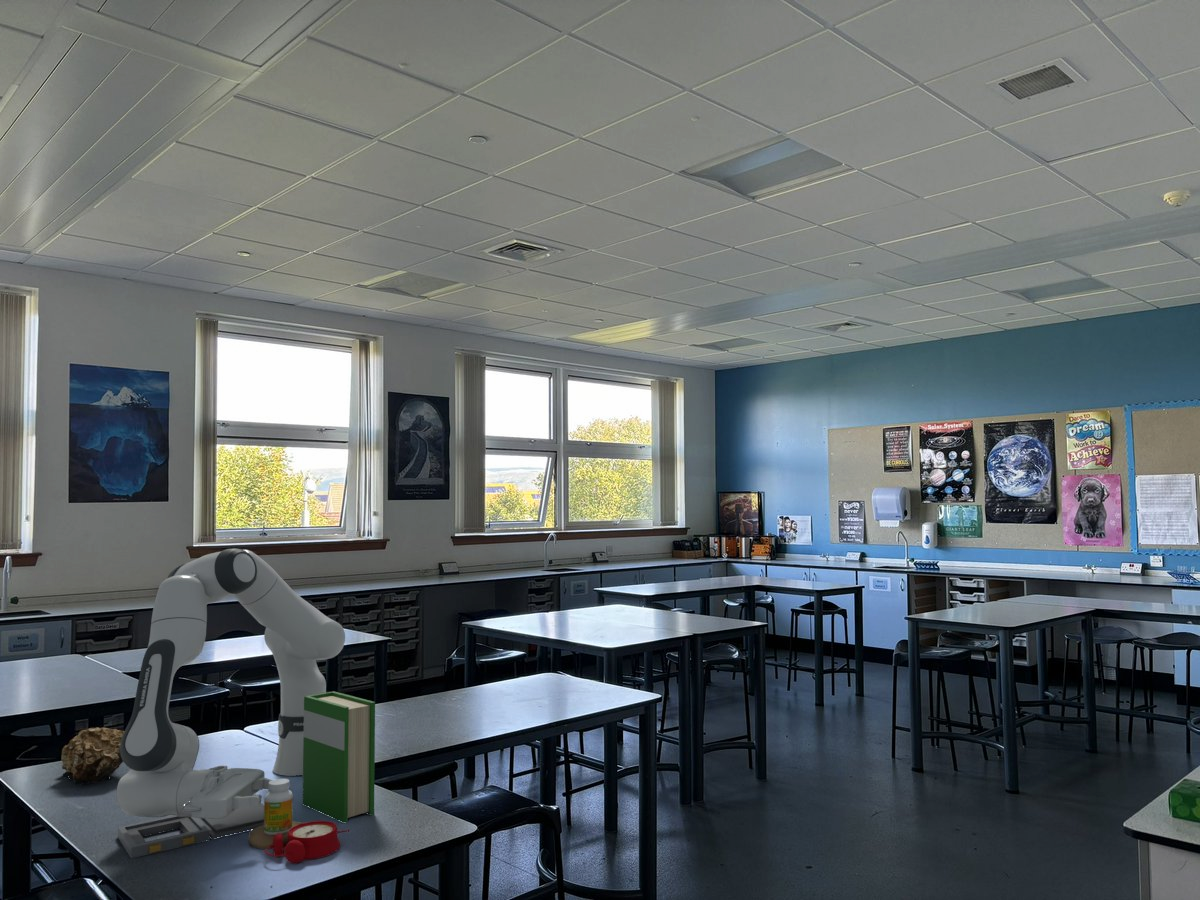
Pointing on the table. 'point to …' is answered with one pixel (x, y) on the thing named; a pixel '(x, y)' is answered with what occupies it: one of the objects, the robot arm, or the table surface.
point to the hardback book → (339, 754)
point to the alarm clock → (307, 841)
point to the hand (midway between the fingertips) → (269, 792)
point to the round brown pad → (266, 837)
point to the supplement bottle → (278, 807)
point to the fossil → (92, 755)
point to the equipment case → (187, 830)
